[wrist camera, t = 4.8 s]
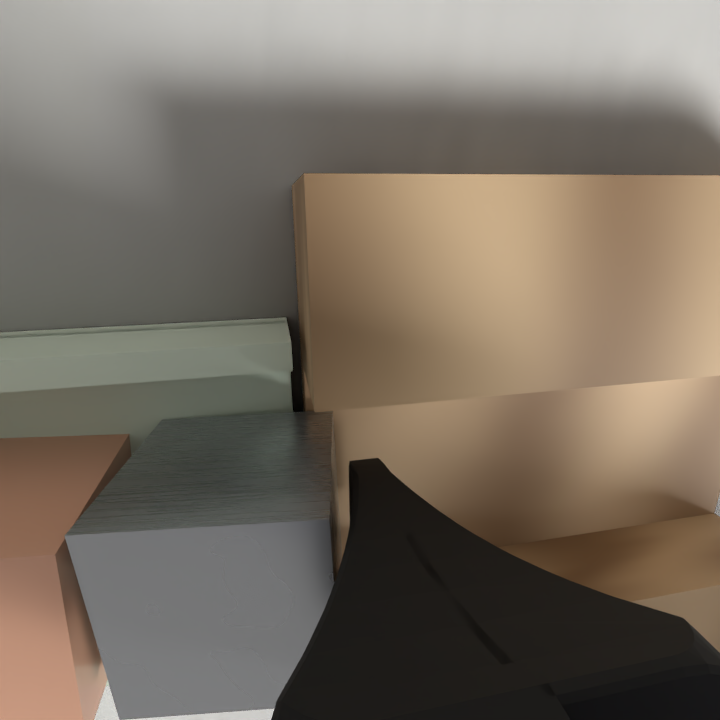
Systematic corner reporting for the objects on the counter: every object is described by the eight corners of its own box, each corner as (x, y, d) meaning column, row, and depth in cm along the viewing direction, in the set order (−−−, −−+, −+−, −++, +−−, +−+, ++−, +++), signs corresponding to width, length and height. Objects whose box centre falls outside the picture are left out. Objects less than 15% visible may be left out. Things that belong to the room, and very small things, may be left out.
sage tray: (286, 317, 11) (291, 342, 9) (302, 579, 14) (309, 648, 11) (-156, 340, 9) (-281, 378, 7) (-46, 633, 12) (-114, 726, 10)
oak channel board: (764, 186, 13) (939, 176, 9) (664, 587, 17) (760, 677, 14) (291, 185, 10) (303, 173, 7) (316, 652, 15) (331, 780, 11)
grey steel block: (332, 409, 11) (329, 519, 7) (341, 547, 12) (342, 702, 8) (162, 419, 11) (64, 535, 7) (189, 557, 12) (119, 719, 8)
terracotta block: (129, 434, 11) (55, 554, 7) (143, 573, 12) (86, 740, 8) (-72, 440, 10) (-280, 581, 6) (-35, 589, 11) (-190, 783, 7)
